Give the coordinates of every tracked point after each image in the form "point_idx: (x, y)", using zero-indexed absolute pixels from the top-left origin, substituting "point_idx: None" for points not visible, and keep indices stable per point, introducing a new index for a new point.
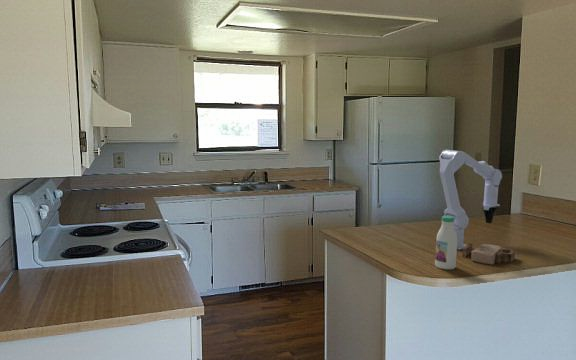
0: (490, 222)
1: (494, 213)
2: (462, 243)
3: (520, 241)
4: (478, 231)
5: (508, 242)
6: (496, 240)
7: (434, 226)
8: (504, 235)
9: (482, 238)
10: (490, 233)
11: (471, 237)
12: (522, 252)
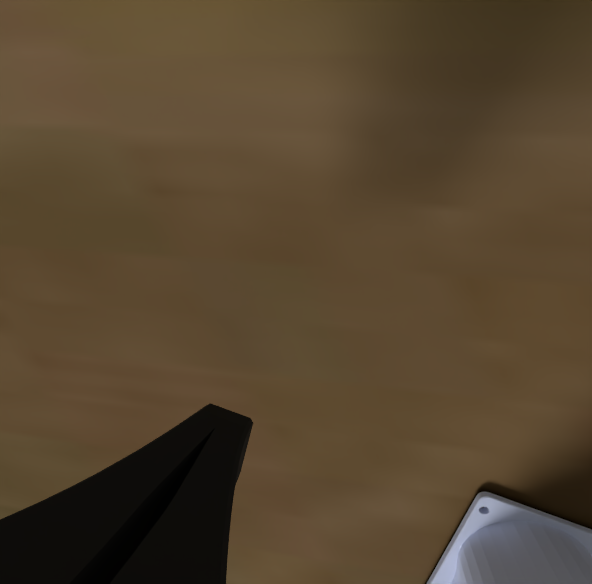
0: (247, 435)
1: (34, 550)
2: (583, 561)
3: (127, 47)
4: (15, 354)
5: (213, 157)
6: (195, 252)
7: None
8: (13, 182)
9: (187, 348)
10: (18, 281)
11: None
12: (562, 18)
